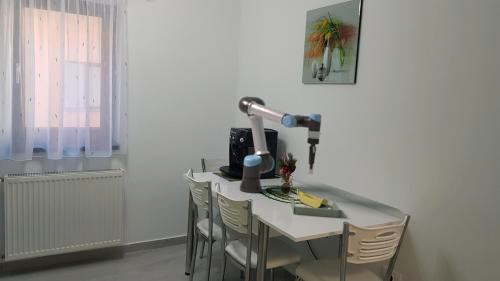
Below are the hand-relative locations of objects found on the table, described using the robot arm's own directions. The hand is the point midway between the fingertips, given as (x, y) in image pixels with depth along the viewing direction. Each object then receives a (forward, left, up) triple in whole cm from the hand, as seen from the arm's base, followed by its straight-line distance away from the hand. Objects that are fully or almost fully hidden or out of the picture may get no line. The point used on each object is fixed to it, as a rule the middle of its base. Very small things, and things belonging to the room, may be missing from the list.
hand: (310, 173), depth 242 cm
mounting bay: (+29, 0, -16) cm, 33 cm away
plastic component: (+12, 0, -17) cm, 21 cm away
